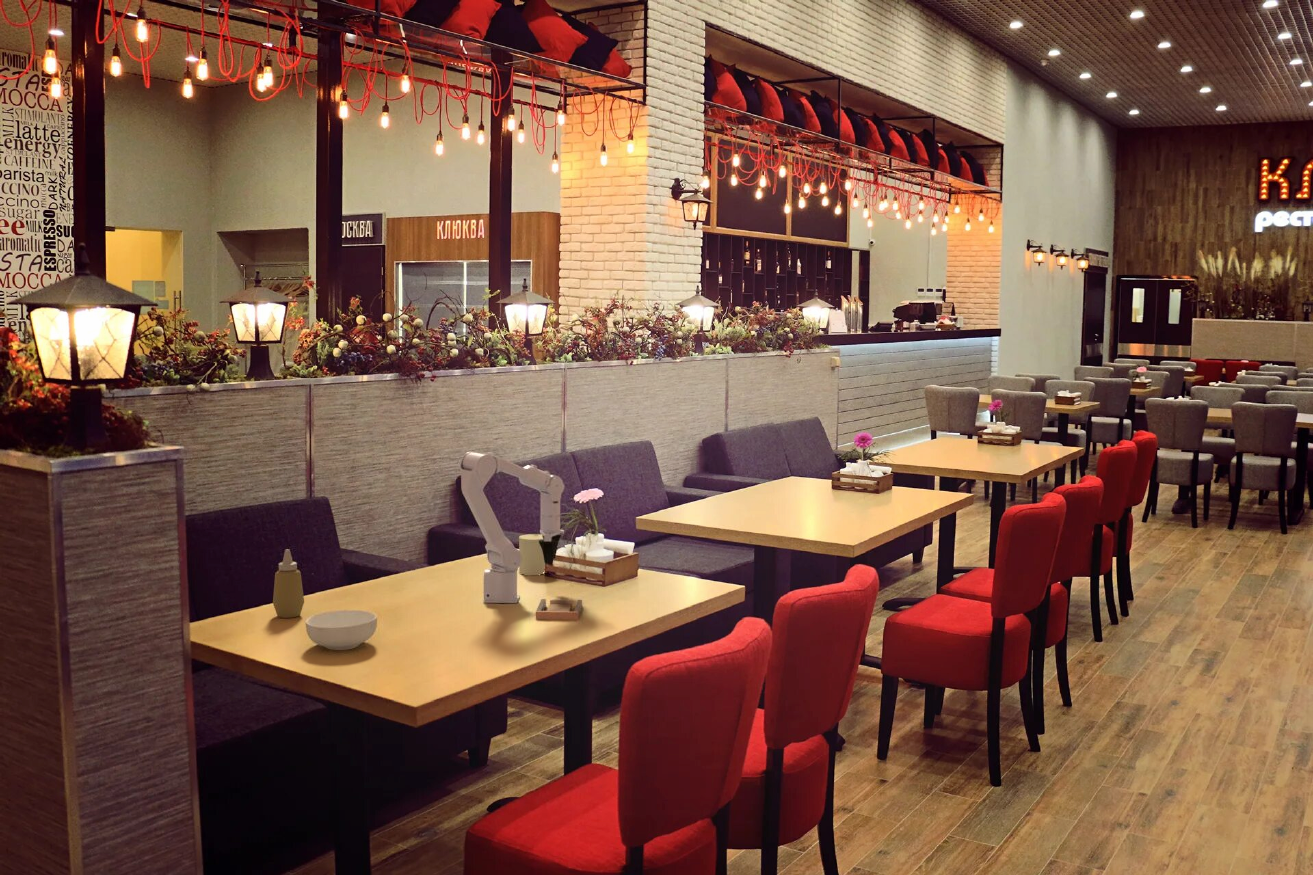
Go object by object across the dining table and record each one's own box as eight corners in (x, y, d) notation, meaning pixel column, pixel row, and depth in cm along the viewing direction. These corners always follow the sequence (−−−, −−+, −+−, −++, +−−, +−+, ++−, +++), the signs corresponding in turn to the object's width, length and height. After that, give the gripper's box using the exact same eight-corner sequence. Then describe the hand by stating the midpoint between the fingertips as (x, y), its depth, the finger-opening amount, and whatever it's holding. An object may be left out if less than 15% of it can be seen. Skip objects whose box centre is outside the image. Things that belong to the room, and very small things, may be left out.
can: (550, 569, 372) (550, 533, 371) (544, 576, 363) (545, 538, 362) (522, 568, 373) (522, 532, 372) (515, 575, 364) (515, 537, 363)
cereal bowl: (350, 632, 297) (350, 605, 296) (391, 645, 286) (391, 616, 286) (292, 646, 284) (291, 618, 283) (332, 660, 273) (332, 630, 273)
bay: (535, 618, 312) (535, 611, 312) (541, 605, 326) (541, 598, 326) (578, 619, 312) (578, 612, 312) (582, 606, 326) (582, 599, 326)
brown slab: (546, 617, 315) (546, 608, 314) (550, 607, 325) (550, 599, 324) (568, 617, 315) (568, 608, 314) (571, 608, 324) (571, 599, 324)
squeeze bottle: (295, 620, 308) (293, 553, 306) (267, 618, 309) (265, 551, 307) (310, 612, 315) (308, 547, 313) (282, 610, 317) (281, 546, 315)
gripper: (561, 519, 333) (561, 566, 334) (566, 511, 347) (566, 556, 348) (537, 519, 333) (536, 566, 334) (542, 511, 347) (542, 555, 349)
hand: (550, 561), depth 341 cm, fingers open, 7 cm apart
